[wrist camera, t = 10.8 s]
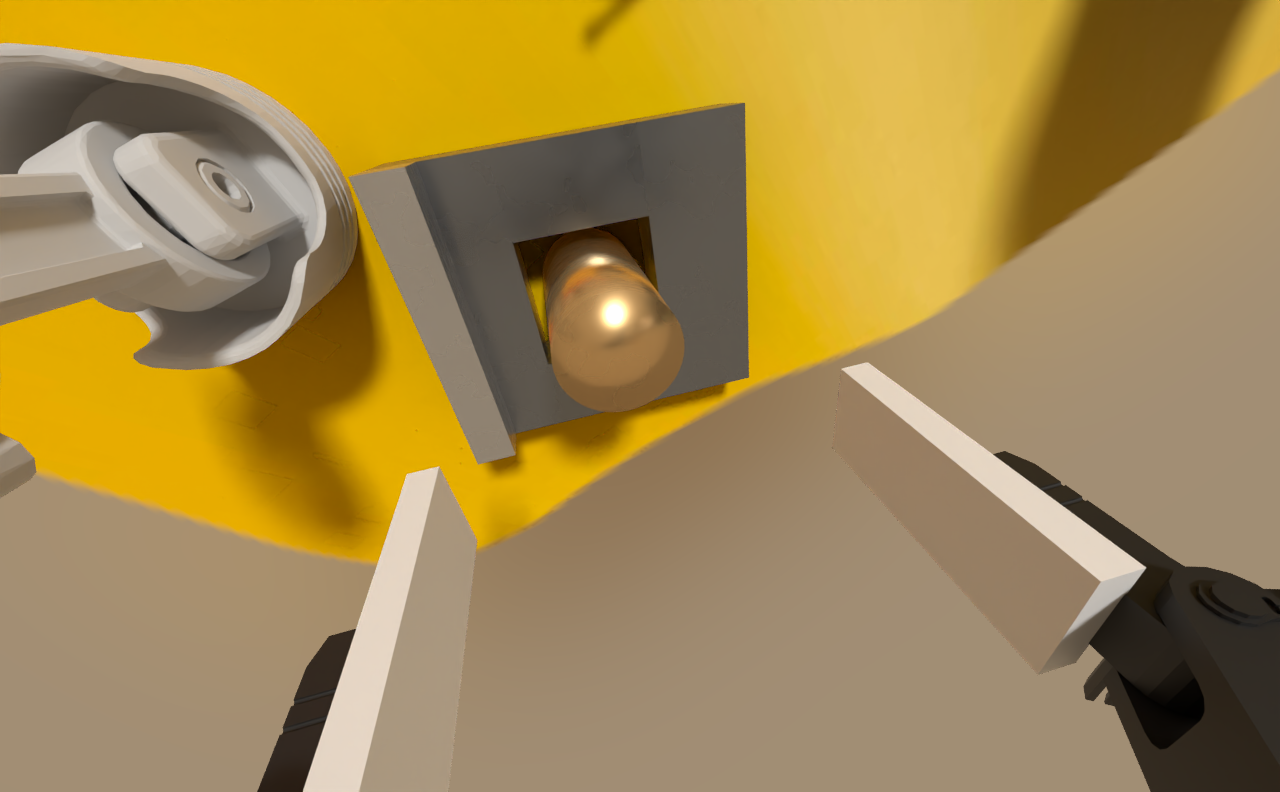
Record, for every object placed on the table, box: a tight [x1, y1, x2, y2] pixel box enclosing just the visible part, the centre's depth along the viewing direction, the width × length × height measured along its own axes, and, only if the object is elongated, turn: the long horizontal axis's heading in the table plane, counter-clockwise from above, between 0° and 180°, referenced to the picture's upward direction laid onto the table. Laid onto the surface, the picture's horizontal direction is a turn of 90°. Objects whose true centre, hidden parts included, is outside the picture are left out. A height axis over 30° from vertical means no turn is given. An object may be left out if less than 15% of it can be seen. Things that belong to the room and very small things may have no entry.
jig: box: [349, 103, 749, 464], centre depth 23 cm, size 16×14×5 cm
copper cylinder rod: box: [543, 228, 685, 412], centre depth 21 cm, size 5×5×10 cm
